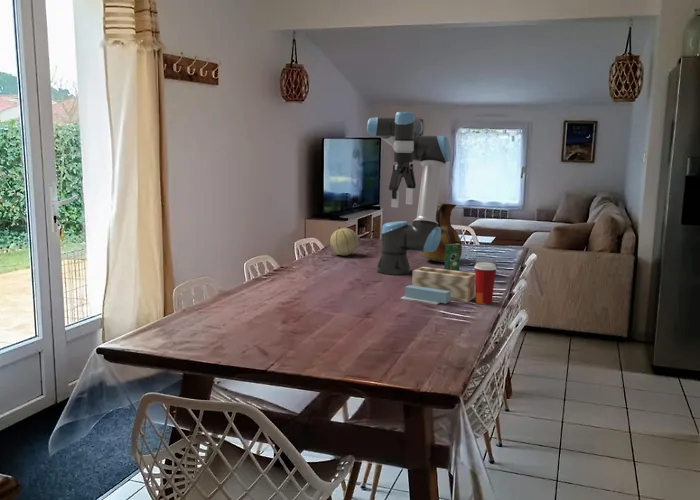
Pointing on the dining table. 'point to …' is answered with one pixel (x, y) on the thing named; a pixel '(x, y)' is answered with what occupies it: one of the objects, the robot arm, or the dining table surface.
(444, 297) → the bar
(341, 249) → the cantaloupe
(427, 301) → the mat
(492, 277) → the coffee cup
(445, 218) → the ceramic pitcher
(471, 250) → the dining table surface
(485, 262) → the ceramic mug
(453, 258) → the coffee box
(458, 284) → the jig
